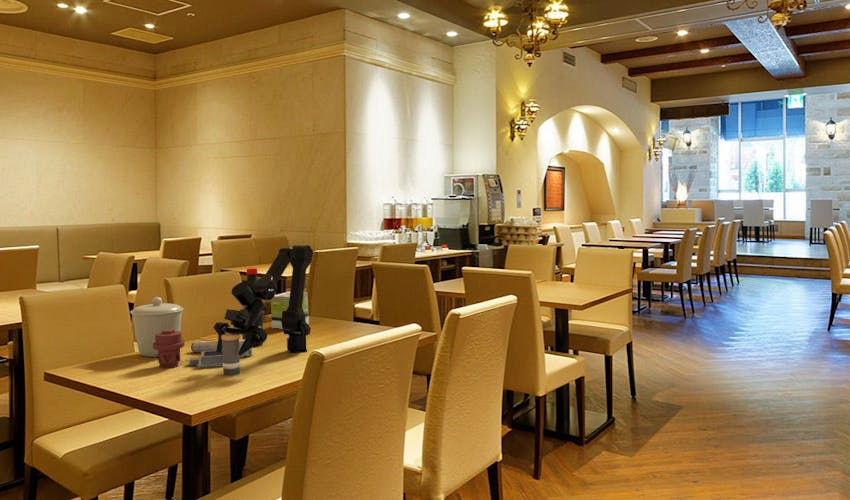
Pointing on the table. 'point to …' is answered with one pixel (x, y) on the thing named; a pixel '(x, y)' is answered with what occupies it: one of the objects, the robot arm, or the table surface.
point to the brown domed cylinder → (230, 354)
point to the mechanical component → (168, 347)
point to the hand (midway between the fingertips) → (228, 353)
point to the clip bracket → (208, 359)
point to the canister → (154, 323)
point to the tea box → (285, 308)
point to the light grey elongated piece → (214, 347)
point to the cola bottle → (252, 279)
